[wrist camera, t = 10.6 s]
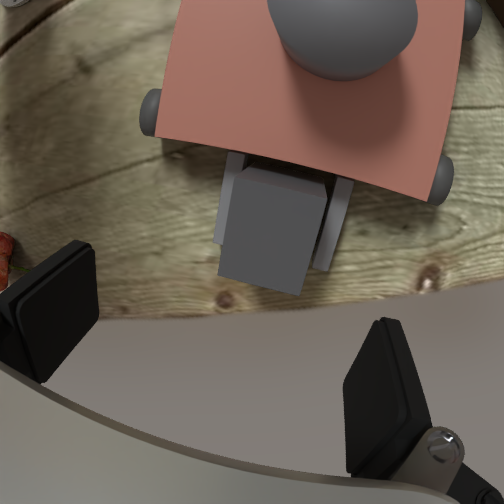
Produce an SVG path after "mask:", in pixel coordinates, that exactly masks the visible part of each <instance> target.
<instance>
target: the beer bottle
mask: <svg viewBox="0 0 504 504" xmlns="http://www.w3.org/2000/svg"><path fill="white" fill-rule="evenodd" d="M486 1H487V2H488V4H489V5H490V7H491V8H492V10H493V11H494V13H495V15H496V16H497V18H498V19H499V21H500V23H501V24H502V26H503V27H504V0H486Z"/></svg>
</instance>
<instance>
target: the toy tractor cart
mask: <svg viewBox="0 0 504 504" xmlns="http://www.w3.org/2000/svg"><path fill="white" fill-rule="evenodd" d="M481 20H482V8H481V5H480V3H479V2H477V1H475V0H182V1H181V5H180V8H179V12H178V16H177V20H176V24H175V29H174V33H173V37H172V42H171V46H170V51H169V55H168V60H167V65H166V70H165V75H164V81H163V86H162V89H152V90H150V91H149V92H148V93H147V95H146V96H145V98H144V100H143V102H142V105H141V109H140V116H139V122H140V128H141V131H142V133H143V134H144V135H146V136H152V137H159V138H166V139H175V140H181V141H187V142H193V143H199V144H205V145H211V146H216V147H221V148H227V149H232V150H231V151H228V155H227V161H226V166H225V172H224V178H223V183H222V189H221V195H220V201H219V207H218V213H217V219H216V225H215V231H214V238H213V243H216V244H220V245H223V239H224V233H225V227H226V222H227V216H228V210H229V205H230V199H231V193H232V188H233V182H234V177H235V176H236V175H238V174H239V173H240V172H242V171H243V170H245V169H246V165H247V160H248V155H249V153H251V154H256V155H261V156H265V157H270V158H274V159H279V160H283V161H287V162H291V163H296V164H300V165H304V166H308V167H312V168H316V169H319V170H323V171H327V172H331V173H335V174H336V176H335V180H334V184H333V188H332V191H331V195H330V199H329V203H328V206H327V210H326V214H325V217H324V221H323V224H322V228H321V231H320V235H319V238H318V242H317V245H316V249H315V252H314V256H313V259H312V268H315V269H319V270H323V271H327V272H328V268H329V265H330V262H331V259H332V256H333V253H334V250H335V247H336V243H337V240H338V237H339V234H340V230H341V227H342V224H343V220H344V217H345V213H346V210H347V206H348V203H349V199H350V196H351V192H352V189H353V185H354V180H353V179H356V180H360V181H363V182H366V183H370V184H373V185H376V186H380V187H383V188H386V189H389V190H392V191H396V192H399V193H402V194H405V195H408V196H411V197H414V198H416V199H419V200H422V201H424V202H427V203H430V204H433V205H436V206H438V205H440V204H442V203H443V202H444V200H445V199H446V198H447V196H448V194H449V192H450V189H451V186H452V182H453V176H454V167H453V162H452V160H451V159H450V158H449V157H447V156H444V155H442V154H441V151H442V147H443V143H444V139H445V134H446V130H447V126H448V121H449V117H450V112H451V107H452V102H453V97H454V91H455V86H456V80H457V73H458V67H459V60H460V52H461V44H462V38H463V39H465V40H467V41H469V40H471V39H472V38H473V37H474V36H475V35H476V33H477V32H478V29H479V27H480V24H481ZM352 178H353V179H352Z"/></svg>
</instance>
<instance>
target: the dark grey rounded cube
mask: <svg viewBox="0 0 504 504" xmlns="http://www.w3.org/2000/svg"><path fill="white" fill-rule="evenodd" d="M326 202H327V195H326V190H325V185H324V180H323V177H319V176H315V175H312V174H308V173H304V172H299V171H295V170H291V169H287V168H283V167H279V166H274V165H270V164H265V163H261V162H255V163H253V164H252V165H250V166H249V167H248V168H246V169H245V170H243V171H242V172H240V173H239V174H238V175H236V176H235V177H234V182H233V188H232V193H231V199H230V205H229V210H228V216H227V222H226V227H225V233H224V239H223V245H222V251H221V257H220V263H219V269H218V276H222V277H226V278H230V279H233V280H237V281H241V282H245V283H249V284H253V285H256V286H260V287H264V288H268V289H272V290H276V291H280V292H284V293H288V294H292V295H296V296H300V292H301V289H302V286H303V283H304V279H305V276H306V273H307V269H308V266H309V263H310V259H311V256H312V252H313V249H314V245H315V242H316V238H317V235H318V231H319V228H320V224H321V221H322V217H323V213H324V210H325V206H326Z"/></svg>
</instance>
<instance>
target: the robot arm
mask: <svg viewBox="0 0 504 504" xmlns="http://www.w3.org/2000/svg"><path fill="white" fill-rule="evenodd" d="M28 1H29V0H0V4H2V5H3V6H7V7H17V6H21V5H23V4H24V3H26V2H28ZM98 317H99V306H98V295H97V281H96V265H95V251H94V250H93V249H92V247H91V245H90V244H89V243H86V242H82V241H79V240H73V241H72V242H70V243H69V244H67V245H66V246H64V247H63V248H62V249H60V250H59V251H57V252H56V253H54V254H53V255H52V256H50V257H49V258H47V259H46V260H44V261H43V262H42V263H40V264H39V265H38V266H36V267H35V268H33V269H32V270H31V271H29V272H28V273H27V274H25V275H24V276H23V277H21V278H20V279H19V280H17V281H16V282H15V283H13V284H12V285H11V286H10V287H8V288H7V289H6V290H4V291H3V292H2V293H1V294H0V504H504V499H503V498H502V495H501V493H500V492H499V491H498V490H497V489H496V488H494V487H493V486H492V485H491V484H489V483H488V482H487V481H485V480H484V479H483V478H482V477H480V476H479V475H478V474H476V473H475V472H474V471H473V470H471V469H470V468H469V467H468V466H466V465H465V464H464V463H462V461H463V459H464V455H465V450H464V445H463V443H462V441H461V439H460V438H459V437H458V435H457V434H456V433H454V432H453V431H452V430H450V429H448V428H445V427H441V426H439V427H433V426H432V423H431V417H430V414H429V410H428V407H427V403H426V399H425V396H424V393H423V389H422V386H421V383H420V379H419V376H418V373H417V370H416V367H415V364H414V361H413V358H412V355H411V351H410V348H409V346H408V343H407V340H406V337H405V334H404V331H403V329H402V326H401V323H400V321H399V320H396V319H391V318H386V317H382V318H381V319H380V320H379V321H378V320H376V321H374V323H373V325H372V326H371V329H370V331H369V333H368V335H367V337H366V339H365V341H364V343H363V345H362V347H361V349H360V351H359V353H358V355H357V357H356V358H355V360H354V362H353V364H352V366H351V368H350V370H349V372H348V374H347V375H346V377H345V380H344V383H343V399H344V400H343V401H344V419H345V441H346V471H347V473H351V477H340V476H330V475H321V474H314V473H306V472H300V471H292V470H286V469H280V468H274V467H269V466H263V465H258V464H253V463H249V462H244V461H239V460H235V459H231V458H227V457H223V456H219V455H215V454H211V453H208V452H204V451H200V450H197V449H193V448H190V447H187V446H183V445H180V444H177V443H174V442H171V441H168V440H165V439H161V438H159V437H156V436H153V435H150V434H148V433H145V432H142V431H139V430H137V429H134V428H132V427H129V426H127V425H124V424H122V423H119V422H116V421H114V420H112V419H110V418H107V417H105V416H103V415H100V414H98V413H96V412H94V411H91V410H89V409H87V408H85V407H83V406H81V405H79V404H77V403H75V402H73V401H70V400H68V399H66V398H64V397H62V396H60V395H59V394H57V393H55V392H53V391H51V390H49V389H47V388H46V387H43V386H42V385H40V384H41V383H45V382H46V381H47V380H48V379H49V378H50V377H51V376H52V374H53V373H54V372H55V371H56V369H57V368H58V367H59V365H60V364H61V363H62V362H63V361H64V360H65V358H66V357H67V356H68V355H69V354H70V352H71V351H72V350H73V349H74V347H75V346H76V345H77V344H78V343H79V342H80V341H81V339H82V338H83V337H84V336H85V335H86V333H87V332H88V331H89V330H90V329H91V328H92V327H93V325H94V324H95V323H96V322H97V320H98Z"/></svg>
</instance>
